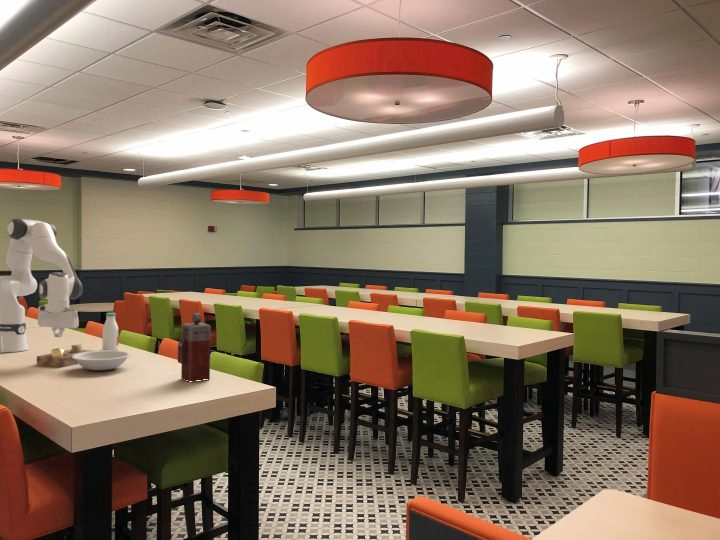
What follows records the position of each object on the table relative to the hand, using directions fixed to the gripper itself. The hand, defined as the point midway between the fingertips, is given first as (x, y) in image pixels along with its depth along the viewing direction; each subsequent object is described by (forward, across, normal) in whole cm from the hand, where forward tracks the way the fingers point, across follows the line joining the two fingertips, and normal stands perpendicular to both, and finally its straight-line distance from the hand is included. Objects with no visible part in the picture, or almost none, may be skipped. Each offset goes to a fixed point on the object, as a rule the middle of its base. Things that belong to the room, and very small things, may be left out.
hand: (58, 337), depth 260 cm
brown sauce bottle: (+13, -74, +5) cm, 75 cm away
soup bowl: (+13, -26, +2) cm, 29 cm away
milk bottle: (+13, +4, -40) cm, 42 cm away
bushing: (+13, 0, 0) cm, 13 cm away
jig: (+13, 0, -6) cm, 14 cm away
